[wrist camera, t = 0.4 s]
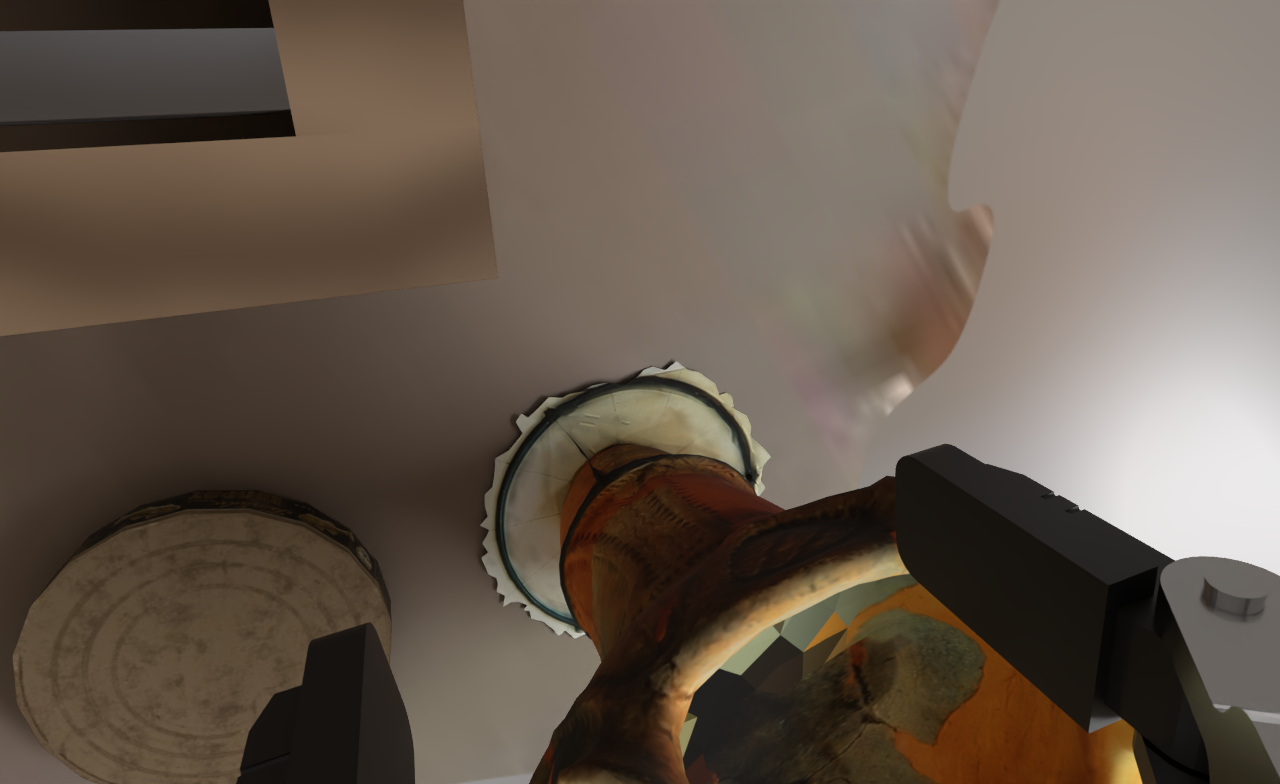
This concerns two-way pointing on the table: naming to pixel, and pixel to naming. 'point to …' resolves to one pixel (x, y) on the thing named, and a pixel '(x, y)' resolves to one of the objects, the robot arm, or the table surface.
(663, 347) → the table surface
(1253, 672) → the robot arm
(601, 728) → the decorative vase
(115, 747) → the wood slice
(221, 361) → the table surface
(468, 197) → the wooden slotted block
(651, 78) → the table surface
